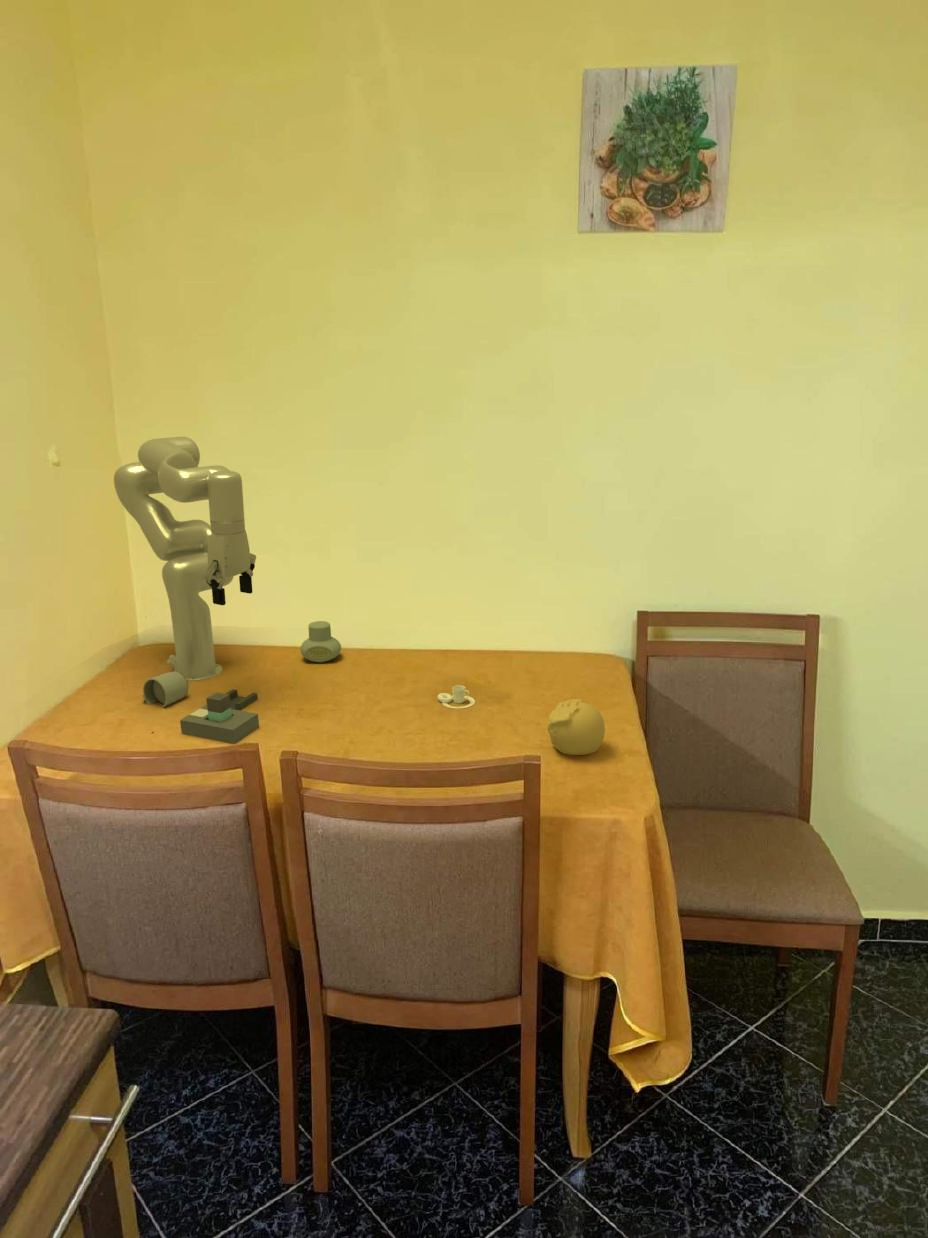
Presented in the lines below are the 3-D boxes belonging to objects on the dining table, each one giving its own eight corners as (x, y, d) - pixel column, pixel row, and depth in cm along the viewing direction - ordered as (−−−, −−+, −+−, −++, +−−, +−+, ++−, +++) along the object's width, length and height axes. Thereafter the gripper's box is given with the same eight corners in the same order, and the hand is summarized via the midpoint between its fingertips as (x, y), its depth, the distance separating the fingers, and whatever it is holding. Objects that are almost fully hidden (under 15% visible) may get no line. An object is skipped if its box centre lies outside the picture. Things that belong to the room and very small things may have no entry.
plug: (210, 731, 191) (206, 698, 188) (220, 725, 194) (216, 692, 191) (223, 734, 189) (219, 700, 187) (232, 728, 192) (229, 694, 190)
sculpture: (552, 734, 190) (553, 688, 187) (607, 741, 187) (609, 694, 183) (541, 757, 180) (542, 709, 176) (599, 764, 176) (601, 716, 173)
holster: (215, 709, 205) (214, 699, 204) (233, 698, 211) (233, 689, 210) (240, 713, 202) (239, 704, 201) (258, 702, 208) (257, 693, 208)
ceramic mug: (192, 699, 210) (188, 669, 208) (168, 712, 203) (163, 681, 201) (160, 693, 215) (156, 664, 213) (134, 705, 208) (130, 675, 206)
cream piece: (432, 703, 208) (432, 687, 207) (455, 693, 213) (455, 678, 212) (459, 713, 202) (459, 697, 201) (482, 703, 208) (482, 687, 206)
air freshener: (298, 664, 233) (296, 629, 230) (304, 653, 240) (301, 619, 237) (339, 664, 233) (337, 628, 230) (343, 653, 241) (341, 619, 237)
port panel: (182, 736, 191) (179, 719, 189) (208, 720, 199) (206, 703, 197) (234, 747, 186) (232, 729, 184) (259, 730, 193) (257, 712, 192)
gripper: (238, 517, 205) (243, 586, 211) (188, 532, 190) (195, 606, 196) (264, 520, 202) (268, 590, 208) (215, 536, 187) (221, 611, 193)
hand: (233, 598), depth 202 cm, fingers open, 9 cm apart
